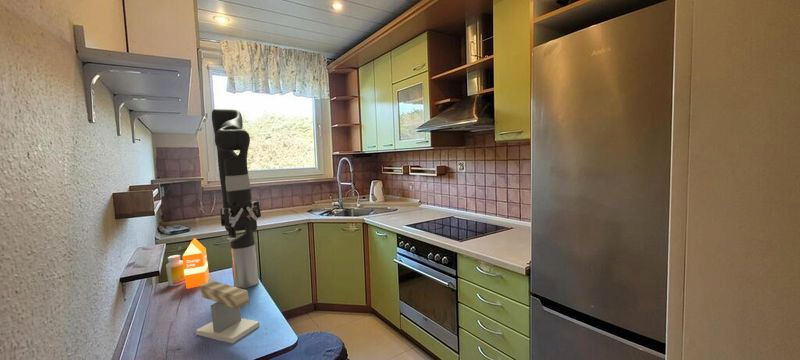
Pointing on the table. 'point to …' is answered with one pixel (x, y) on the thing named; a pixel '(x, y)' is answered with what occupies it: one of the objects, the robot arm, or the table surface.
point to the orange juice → (195, 265)
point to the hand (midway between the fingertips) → (243, 233)
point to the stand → (226, 324)
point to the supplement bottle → (175, 271)
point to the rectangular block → (225, 294)
